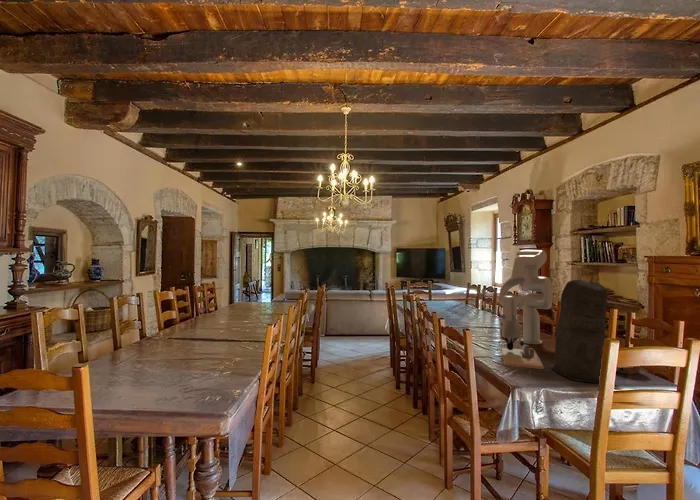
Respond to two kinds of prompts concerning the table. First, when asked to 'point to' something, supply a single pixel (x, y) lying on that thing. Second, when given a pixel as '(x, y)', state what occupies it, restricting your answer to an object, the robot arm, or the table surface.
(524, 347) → the swing bar
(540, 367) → the door and jamb board
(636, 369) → the bread
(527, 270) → the robot arm
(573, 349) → the stone sculpture
